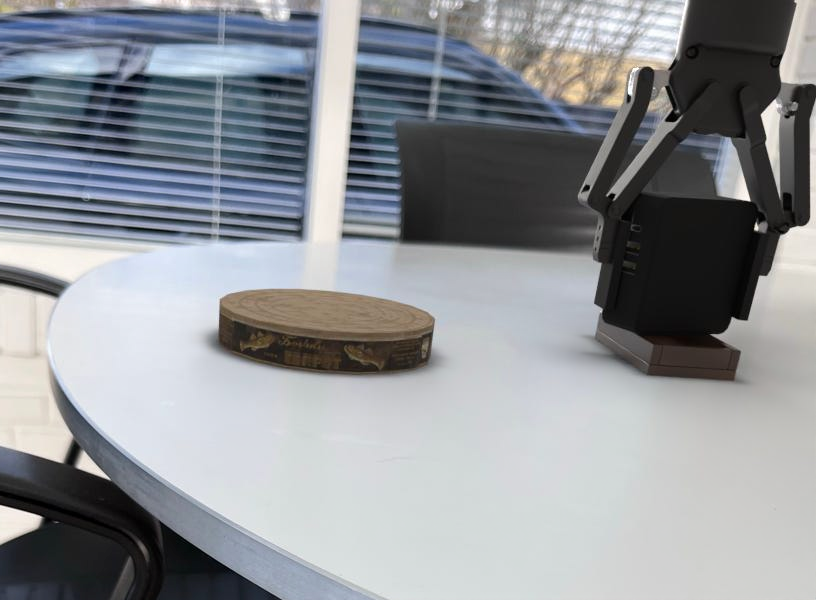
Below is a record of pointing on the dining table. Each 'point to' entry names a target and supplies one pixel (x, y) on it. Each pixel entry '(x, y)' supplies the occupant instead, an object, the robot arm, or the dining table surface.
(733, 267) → the electronic device
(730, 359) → the brown box
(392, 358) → the tin can
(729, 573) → the dining table surface
